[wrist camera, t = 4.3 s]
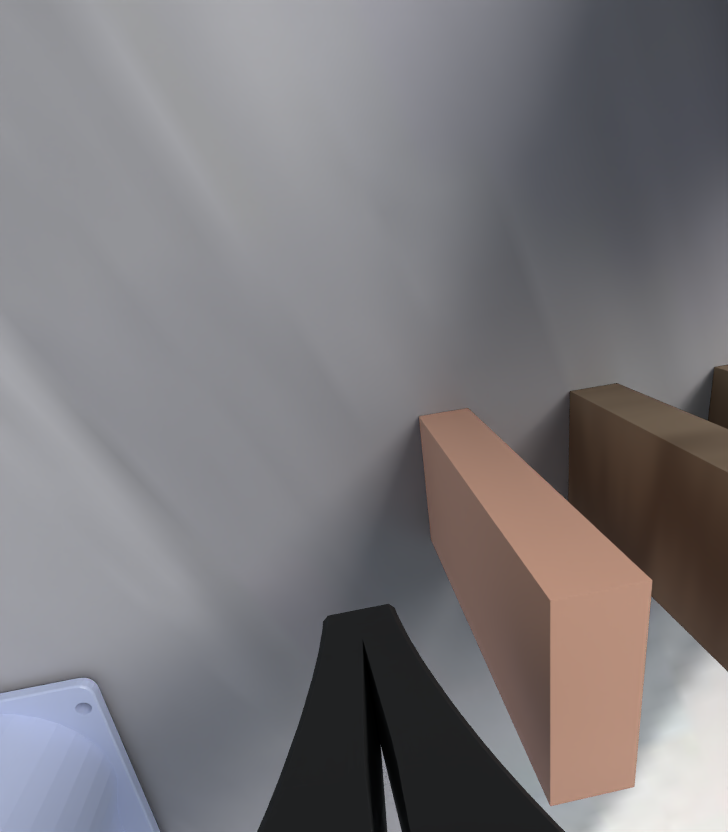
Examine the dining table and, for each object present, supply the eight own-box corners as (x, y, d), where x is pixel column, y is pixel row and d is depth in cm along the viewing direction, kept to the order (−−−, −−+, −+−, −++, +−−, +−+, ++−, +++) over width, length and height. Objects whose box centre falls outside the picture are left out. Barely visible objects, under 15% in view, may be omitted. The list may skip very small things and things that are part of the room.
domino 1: (475, 531, 17) (633, 786, 9) (430, 539, 17) (550, 806, 9) (468, 408, 15) (652, 580, 7) (418, 416, 15) (550, 601, 7)
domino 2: (611, 506, 17) (882, 729, 9) (568, 514, 17) (804, 747, 9) (617, 383, 15) (951, 521, 7) (570, 391, 15) (858, 539, 7)
